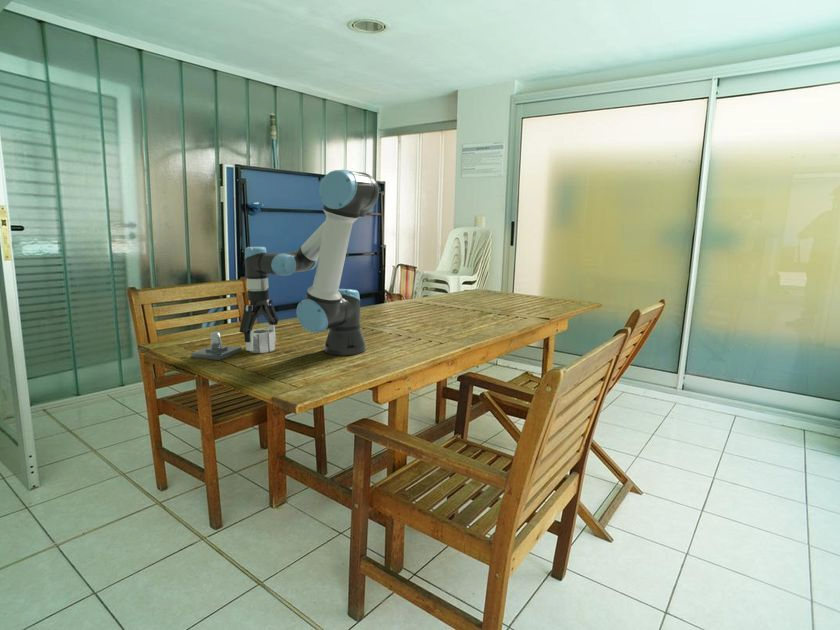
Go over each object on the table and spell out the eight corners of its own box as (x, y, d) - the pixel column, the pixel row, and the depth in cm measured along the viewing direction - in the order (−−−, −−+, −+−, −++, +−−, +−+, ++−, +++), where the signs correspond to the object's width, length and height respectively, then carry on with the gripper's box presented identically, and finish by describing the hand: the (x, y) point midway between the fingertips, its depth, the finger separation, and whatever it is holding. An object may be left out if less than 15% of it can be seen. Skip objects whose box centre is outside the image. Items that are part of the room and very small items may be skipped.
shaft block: (241, 351, 183) (240, 330, 181) (219, 360, 172) (217, 337, 170) (215, 348, 186) (213, 328, 185) (191, 357, 175) (189, 335, 174)
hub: (279, 347, 187) (278, 329, 186) (265, 353, 179) (263, 335, 178) (259, 345, 190) (258, 328, 189) (244, 351, 182) (242, 333, 180)
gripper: (269, 284, 193) (272, 337, 197) (226, 294, 170) (230, 353, 174) (286, 285, 191) (288, 338, 195) (244, 295, 167) (248, 355, 172)
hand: (261, 345), depth 185 cm, fingers open, 13 cm apart
